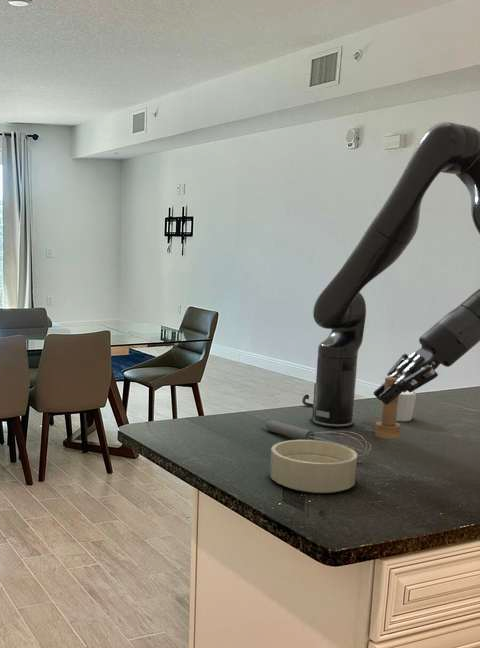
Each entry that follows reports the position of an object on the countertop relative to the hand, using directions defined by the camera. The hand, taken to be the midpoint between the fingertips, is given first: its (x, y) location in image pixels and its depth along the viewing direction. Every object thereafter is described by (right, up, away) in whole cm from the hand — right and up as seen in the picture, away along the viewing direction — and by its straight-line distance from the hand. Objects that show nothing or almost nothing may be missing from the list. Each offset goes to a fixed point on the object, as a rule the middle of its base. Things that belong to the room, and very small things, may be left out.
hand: (379, 398), depth 135 cm
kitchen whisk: (-6, -11, +23) cm, 26 cm away
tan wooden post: (+2, -7, +2) cm, 8 cm away
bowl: (-13, -16, +1) cm, 20 cm away
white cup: (+25, -5, +46) cm, 52 cm away
